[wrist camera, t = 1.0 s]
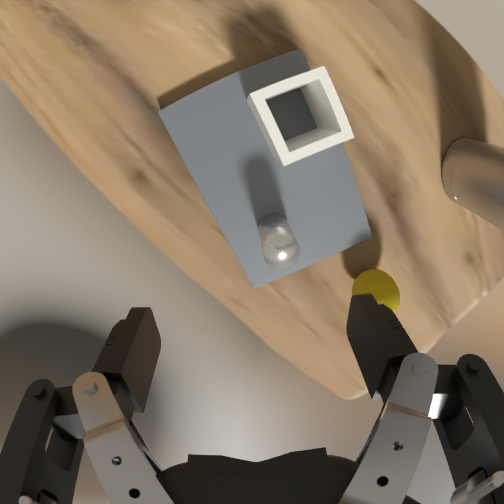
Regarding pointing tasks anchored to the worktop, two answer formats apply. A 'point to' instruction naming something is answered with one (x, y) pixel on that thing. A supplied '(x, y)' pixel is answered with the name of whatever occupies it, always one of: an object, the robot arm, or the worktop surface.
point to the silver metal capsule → (277, 241)
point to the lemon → (378, 287)
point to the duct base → (266, 169)
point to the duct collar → (322, 109)
